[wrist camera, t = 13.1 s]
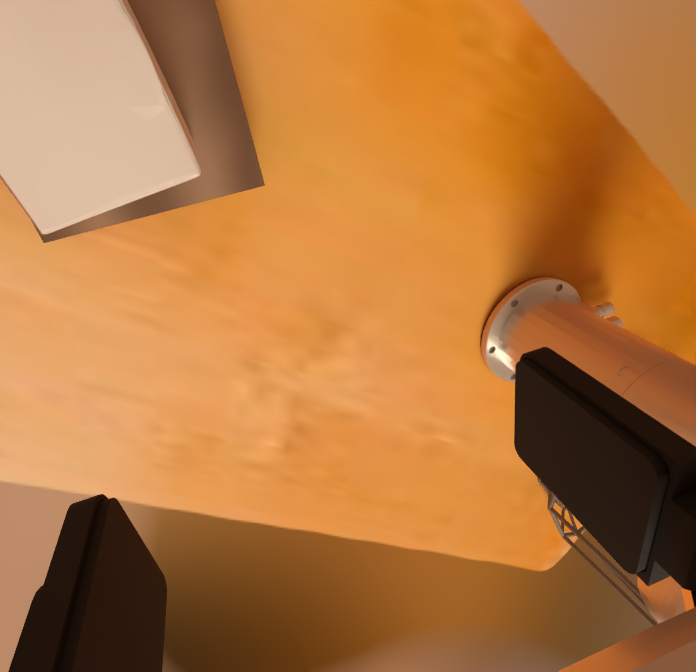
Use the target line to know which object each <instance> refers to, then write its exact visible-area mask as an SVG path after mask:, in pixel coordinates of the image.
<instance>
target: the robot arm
mask: <svg viewBox="0 0 696 672" xmlns="http://www.w3.org/2000/svg"><path fill="white" fill-rule="evenodd" d="M614 311H615V310H614V306H613V304H612V303H610V302H606V303H603V304H601V305H598V306H596V307H594V308H593V307H591V306H589V305H587V304H585V303H583V302H582V301H581V298H580V296H579V294H578V292H577V290H576V289H575V288H574V287H573V286H572V285H570V284H568V283H567V282H565V281H563V280H560V279H557V278H554V277H541V278H535V279H532V280H529V281H527V282H525V283H523V284H521V285H519V286H517V287H516V288H515V289H513V290H512V291H511V292H509V293H508V294H507V295H506V296H505V297H504V298H503V299H502V300H501V301H500V302H499V303H498V305H497V306H496V307H495V309H494V310H493V312H492V313H491V315H490V317H489V319H488V321H487V323H486V326H485V328H484V331H483V336H482V341H481V352H482V357H483V360H484V362H485V364H486V366H487V367H488V369H489V370H490V371H491V372H492V373H493V374H495V375H496V376H497V377H498V378H500V379H502V380H504V381H508V382H515V436H514V444H515V449H516V451H517V454H518V455H519V457H520V458H521V459H522V460H523V461H524V463H525V464H526V465H527V466H528V467H529V468H530V469H531V470H532V471H533V472H534V473H535V474H536V475H537V477H538V478H539V479H540V480H541V481H542V482H543V483H544V484H545V485H546V486H547V487H548V488H549V489H550V491H551V492H552V493H553V494H554V495H555V496H556V497H557V498H558V499H559V500H560V501H561V502H562V503H563V505H564V506H565V507H566V508H567V509H568V510H569V511H570V512H571V513H572V514H573V515H574V516H575V517H576V519H577V520H578V521H579V522H580V523H581V524H582V525H583V526H584V527H585V528H586V529H587V530H588V531H589V533H590V534H591V535H592V536H593V537H594V538H595V539H596V540H597V541H598V542H599V543H600V544H601V545H602V547H604V548H605V550H606V551H607V552H608V553H609V554H610V555H611V556H612V557H613V558H614V559H615V560H616V562H617V563H618V564H619V565H620V566H621V567H622V568H623V569H624V570H625V571H627V572H628V573H630V574H637V576H638V588H639V591H640V594H641V597H642V599H643V601H644V603H645V605H646V606H647V608H648V609H649V611H650V612H651V614H652V615H653V616H654V618H655V619H656V620H657V621H658V623H659V624H657V625H655V626H653V627H651V628H649V629H647V630H644V631H643V632H640V633H638V634H636V635H634V636H632V637H630V638H628V639H625V640H623V641H621V642H619V643H617V644H615V645H613V646H611V647H608V648H606V649H604V650H602V651H600V652H598V653H596V654H594V655H592V656H590V657H587V658H585V659H583V660H581V661H579V662H577V663H575V664H573V665H570V666H568V667H567V668H564V669H562V670H560V671H558V672H696V365H694V364H692V363H690V362H688V361H686V360H684V359H683V358H681V357H679V356H677V355H675V354H673V353H671V352H669V351H667V350H665V349H663V348H661V347H659V346H657V345H655V344H653V343H651V342H649V341H647V340H645V339H643V338H641V337H639V336H638V335H636V334H634V333H632V332H630V331H628V330H626V329H624V328H623V325H622V322H621V320H620V319H619V318H618V317H615V316H612V317H610V318H607V319H604V318H602V317H604V316H607V315H610V314H612V313H614ZM166 599H167V587H166V581H165V578H164V575H163V573H162V571H161V570H160V568H159V567H158V565H157V563H156V562H155V560H154V559H153V557H152V555H151V554H150V552H149V550H148V549H147V547H146V545H145V544H144V542H143V541H142V539H141V537H140V536H139V534H138V532H137V531H136V529H135V528H134V526H133V524H132V523H131V521H130V520H129V518H128V516H127V515H126V513H125V511H124V510H123V508H122V506H121V505H120V503H119V502H118V500H117V499H116V498H111V499H108V498H107V497H106V496H105V495H103V494H101V495H97V496H94V497H91V498H89V499H85V500H82V501H79V502H76V503H73V504H72V505H70V507H69V509H68V511H67V514H66V517H65V520H64V523H63V526H62V529H61V532H60V536H59V539H58V542H57V545H56V548H55V551H54V554H53V557H52V560H51V563H50V566H49V570H48V573H47V576H46V579H45V582H44V585H43V586H41V587H40V588H39V589H38V591H37V592H36V594H35V596H34V598H33V600H32V603H31V606H30V609H29V612H28V615H27V618H26V621H25V624H24V627H23V630H22V633H21V636H20V639H19V642H18V645H17V648H16V651H15V654H14V657H13V660H12V663H11V666H10V669H9V672H162V663H163V647H164V631H165V616H166Z"/></svg>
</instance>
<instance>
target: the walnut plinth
mask: <svg viewBox="0 0 696 672" xmlns="http://www.w3.org/2000/svg"><path fill="white" fill-rule="evenodd" d="M127 1H128V3H129V5H130V7H131V9H132V11H133V13H134V15H135V17H136V19H137V21H138V23H139V25H140V27H141V29H142V31H143V33H144V35H145V37H146V39H147V41H148V43H149V46H150V48H151V50H152V52H153V54H154V56H155V58H156V60H157V63H158V65H159V67H160V69H161V71H162V73H163V75H164V77H165V80H166V82H167V84H168V86H169V88H170V90H171V92H172V95H173V97H174V99H175V101H176V103H177V105H178V108H179V110H180V112H181V114H182V116H183V118H184V121H185V123H186V125H187V127H188V130H189V132H190V134H191V136H192V139H193V142H194V146H195V149H196V153H197V157H198V161H199V164H200V169H201V175H200V176H198V177H196V178H193V179H191V180H188V181H186V182H183V183H181V184H178V185H175V186H173V187H170V188H167V189H165V190H162V191H159V192H157V193H154V194H151V195H149V196H146V197H143V198H141V199H138V200H135V201H133V202H130V203H128V204H125V205H122V206H120V207H117V208H114V209H112V210H109V211H106V212H104V213H101V214H99V215H96V216H93V217H91V218H88V219H85V220H83V221H80V222H78V223H75V224H72V225H70V226H67V227H65V228H62V229H59V230H57V231H54V232H52V233H49V234H41V233H40V231H39V230H38V228H37V227H36V226H35V224H34V223H33V224H34V226H35V228H36V230H37V231H38V233H39V235H40V237H41V239H42V240H43V242H44V243H46V242H50V241H54V240H57V239H61V238H65V237H69V236H73V235H77V234H80V233H84V232H88V231H92V230H96V229H100V228H103V227H107V226H111V225H115V224H119V223H123V222H126V221H130V220H134V219H138V218H142V217H146V216H149V215H153V214H157V213H161V212H165V211H169V210H172V209H176V208H180V207H184V206H188V205H192V204H195V203H199V202H203V201H207V200H211V199H215V198H218V197H222V196H226V195H230V194H234V193H238V192H241V191H245V190H249V189H253V188H257V187H261V186H264V185H265V184H264V181H263V177H262V173H261V170H260V166H259V162H258V159H257V155H256V151H255V148H254V144H253V140H252V137H251V133H250V129H249V126H248V122H247V118H246V115H245V111H244V107H243V104H242V100H241V96H240V93H239V89H238V85H237V82H236V78H235V74H234V71H233V67H232V63H231V60H230V56H229V52H228V49H227V45H226V41H225V38H224V34H223V30H222V27H221V23H220V19H219V16H218V12H217V8H216V5H215V1H214V0H127ZM31 221H32V220H31Z"/></svg>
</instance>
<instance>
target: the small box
mask: <svg viewBox="0 0 696 672" xmlns="http://www.w3.org/2000/svg"><path fill="white" fill-rule="evenodd" d="M200 175H201V169H200V164H199V161H198V157H197V153H196V149H195V146H194V142H193V139H192V136H191V134H190V132H189V130H188V127H187V125H186V123H185V121H184V118H183V116H182V114H181V112H180V110H179V108H178V105H177V103H176V101H175V99H174V97H173V95H172V92H171V90H170V88H169V86H168V84H167V82H166V80H165V77H164V75H163V73H162V71H161V69H160V67H159V65H158V63H157V60H156V58H155V56H154V54H153V52H152V50H151V48H150V46H149V43H148V41H147V39H146V37H145V35H144V33H143V31H142V29H141V27H140V25H139V23H138V21H137V19H136V17H135V15H134V13H133V11H132V9H131V7H130V5H129V3H128V1H127V0H0V178H1V179H2V180H3V182H4V183H5V185H6V186H7V187H8V189H9V190H10V191H11V193H12V194H13V195H14V197H15V198H16V200H17V201H18V202H19V204H20V205H21V206H22V208H23V209H24V211H25V212H26V213H27V215H28V216H29V218H30V219H31V220H32V222H33V223H34V224H35V226H36V227H37V228H38V230H39V231H40V233H41V234H49V233H52V232H54V231H57V230H59V229H62V228H65V227H67V226H70V225H72V224H75V223H78V222H80V221H83V220H85V219H88V218H91V217H93V216H96V215H99V214H101V213H104V212H106V211H109V210H112V209H114V208H117V207H120V206H122V205H125V204H128V203H130V202H133V201H135V200H138V199H141V198H143V197H146V196H149V195H151V194H154V193H157V192H159V191H162V190H165V189H167V188H170V187H173V186H175V185H178V184H181V183H183V182H186V181H188V180H191V179H193V178H196V177H198V176H200Z"/></svg>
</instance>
